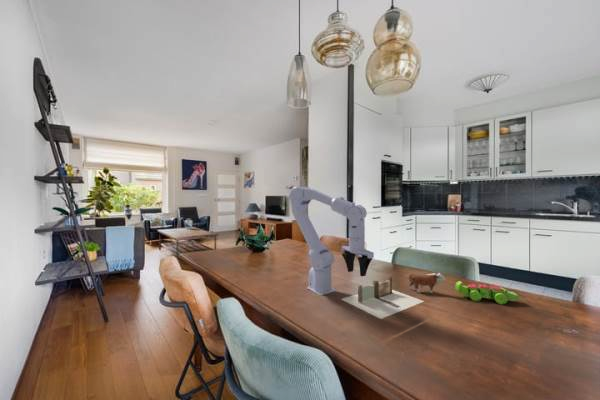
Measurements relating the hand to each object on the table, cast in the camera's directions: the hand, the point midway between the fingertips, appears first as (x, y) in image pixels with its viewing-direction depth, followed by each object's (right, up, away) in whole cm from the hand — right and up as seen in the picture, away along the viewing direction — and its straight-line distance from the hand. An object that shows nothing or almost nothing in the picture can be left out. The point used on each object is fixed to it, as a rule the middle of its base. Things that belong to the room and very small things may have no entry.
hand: (356, 273), depth 95 cm
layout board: (+9, -9, -2) cm, 13 cm away
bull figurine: (+29, -10, +6) cm, 32 cm away
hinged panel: (+3, -9, -3) cm, 10 cm away
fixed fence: (+11, -9, +2) cm, 14 cm away
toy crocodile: (+48, -10, -1) cm, 49 cm away
